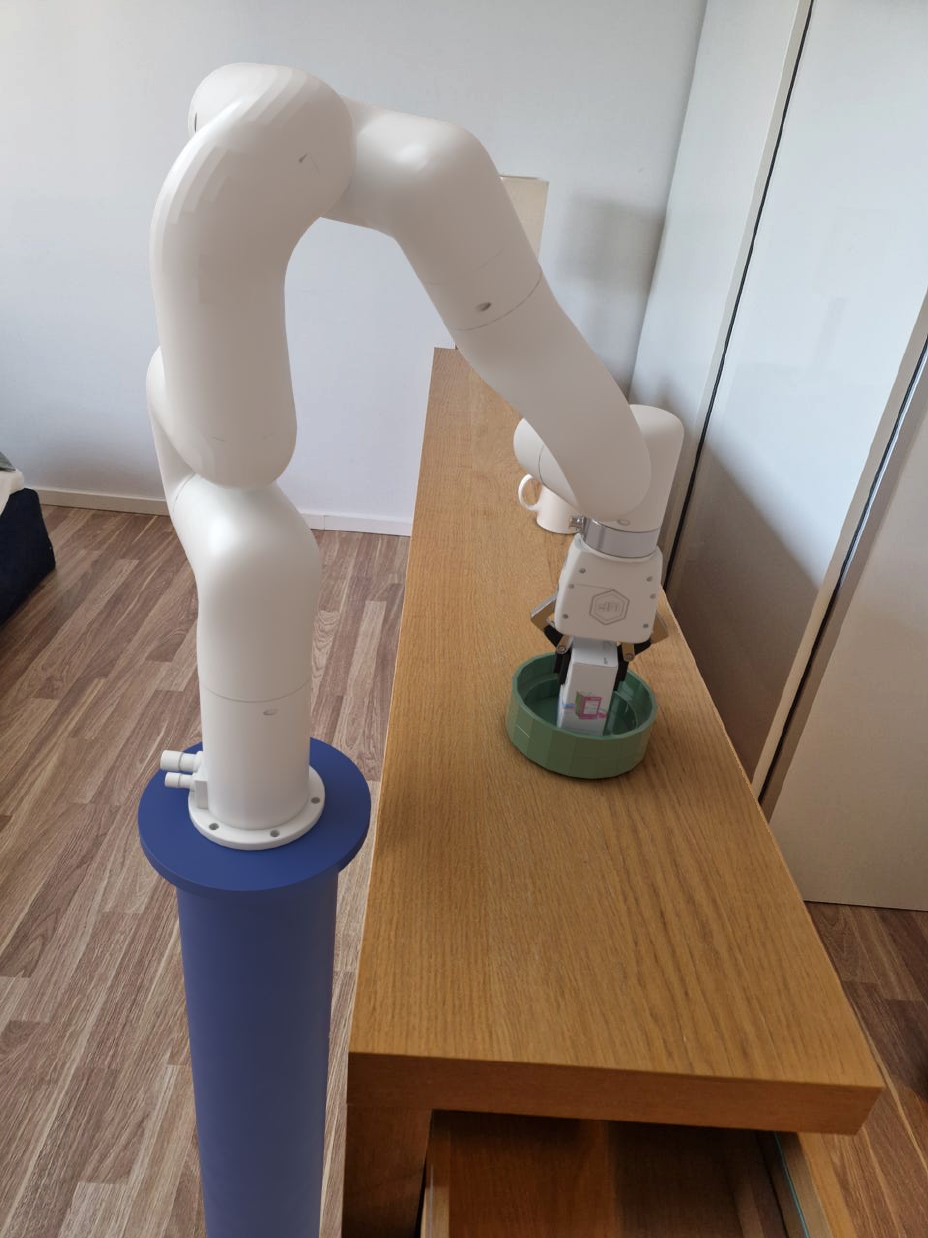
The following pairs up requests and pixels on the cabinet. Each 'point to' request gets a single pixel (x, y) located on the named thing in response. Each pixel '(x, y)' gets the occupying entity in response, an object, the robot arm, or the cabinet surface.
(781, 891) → the cabinet surface
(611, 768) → the bowl
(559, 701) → the ink box
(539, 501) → the mug
